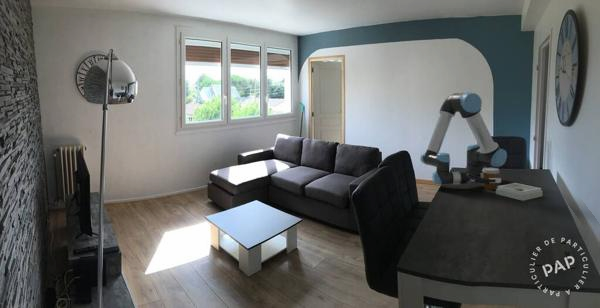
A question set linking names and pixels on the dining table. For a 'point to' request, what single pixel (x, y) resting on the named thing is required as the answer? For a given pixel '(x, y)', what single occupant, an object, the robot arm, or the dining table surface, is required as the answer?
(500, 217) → the dining table surface
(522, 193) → the square rimmed tray
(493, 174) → the disposable coffee cup
